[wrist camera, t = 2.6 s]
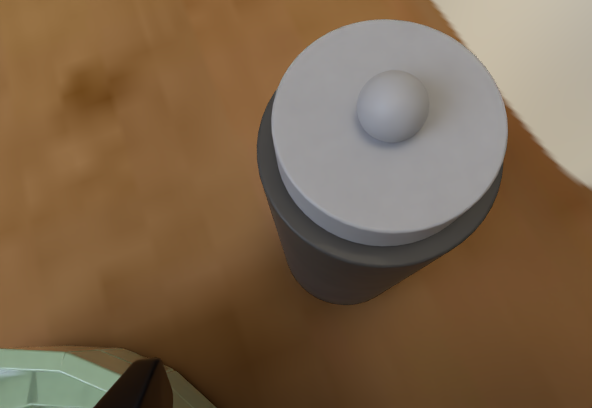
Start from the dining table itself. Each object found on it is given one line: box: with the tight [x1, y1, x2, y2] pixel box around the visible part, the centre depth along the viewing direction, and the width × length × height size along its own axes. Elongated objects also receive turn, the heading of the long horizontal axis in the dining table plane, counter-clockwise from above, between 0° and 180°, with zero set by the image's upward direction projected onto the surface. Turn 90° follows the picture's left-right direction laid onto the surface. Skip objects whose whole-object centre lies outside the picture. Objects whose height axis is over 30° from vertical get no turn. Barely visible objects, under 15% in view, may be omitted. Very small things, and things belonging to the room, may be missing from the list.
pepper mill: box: [257, 19, 508, 305], centre depth 13 cm, size 5×5×13 cm
